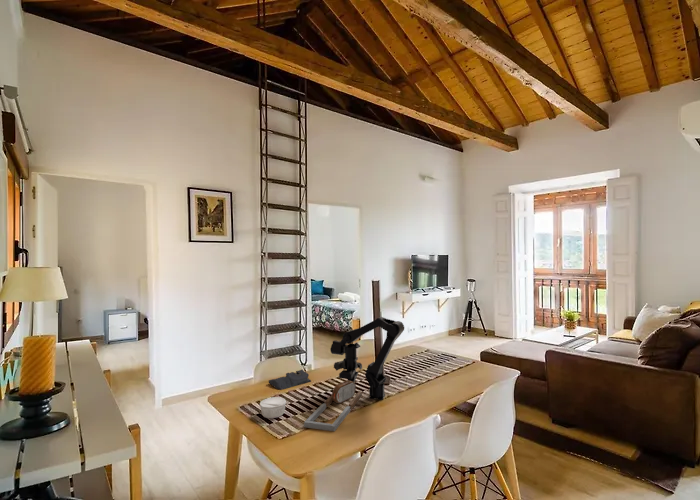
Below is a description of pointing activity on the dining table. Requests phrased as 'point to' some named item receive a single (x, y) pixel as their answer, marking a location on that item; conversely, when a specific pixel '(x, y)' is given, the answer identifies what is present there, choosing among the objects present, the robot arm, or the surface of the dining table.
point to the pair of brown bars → (349, 403)
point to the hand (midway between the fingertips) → (351, 387)
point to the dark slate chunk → (290, 380)
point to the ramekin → (273, 407)
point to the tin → (343, 391)
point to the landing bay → (325, 426)
